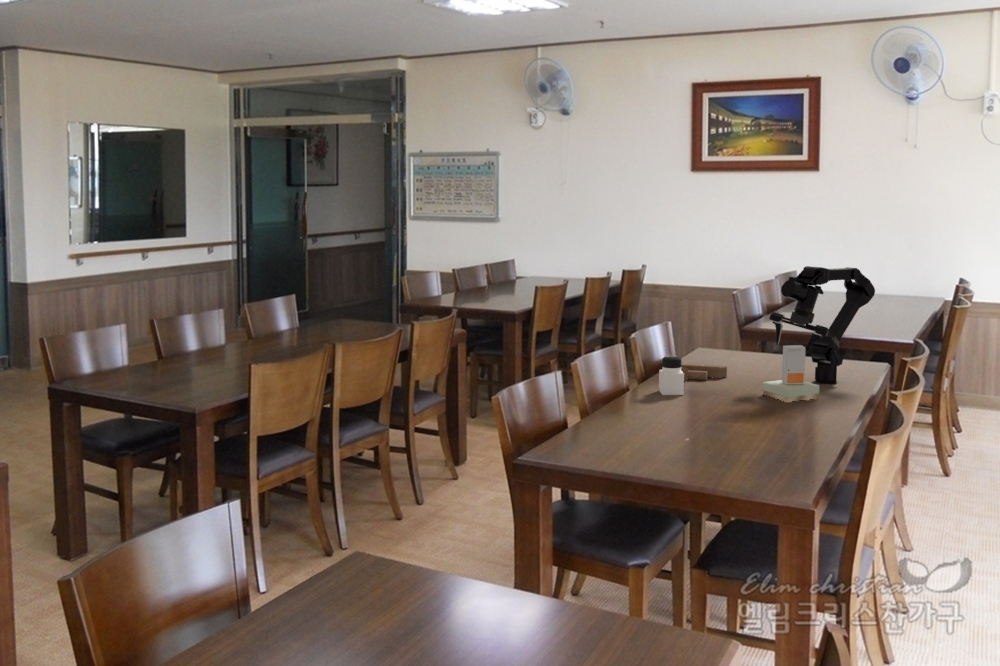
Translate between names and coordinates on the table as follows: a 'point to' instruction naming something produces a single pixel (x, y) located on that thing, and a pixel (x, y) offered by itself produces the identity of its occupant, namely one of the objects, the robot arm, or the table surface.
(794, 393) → the top slab
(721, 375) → the wooden block set
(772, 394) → the bottom slab
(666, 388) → the medicine bottle
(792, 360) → the skincare box
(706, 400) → the table surface
